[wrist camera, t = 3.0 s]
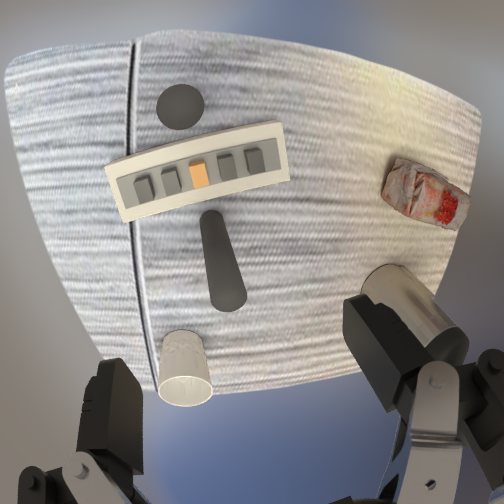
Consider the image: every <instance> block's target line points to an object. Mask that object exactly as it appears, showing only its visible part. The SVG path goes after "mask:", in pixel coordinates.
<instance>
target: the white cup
mask: <svg viewBox="0 0 504 504" xmlns="http://www.w3.org/2000/svg"><path fill="white" fill-rule="evenodd" d="M158 393H159V396H160V397H161V398H162V399H163V400H164V401H166V402H167V403H170V404H172V405H176V406H195V405H199V404H202V403H203V402H205V401H207V400H208V399H209V398H210V397H211V396H212V394H213V387H212V383H211V378H210V373H209V368H208V364H207V359H206V355H205V352H204V349H203V344H202V339H201V338H200V337H199V336H198V335H197V334H196V333H193V332H191V331H188V330H177V331H173V332H170V333H169V334H168V335H167V336H165V337H164V340H163V342H162V351H161V356H160V366H159V382H158Z"/></svg>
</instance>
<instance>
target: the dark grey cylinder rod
mask: <svg viewBox="0 0 504 504" xmlns="http://www.w3.org/2000/svg"><path fill="white" fill-rule="evenodd" d="M200 228H201V236H202V244H203V251H204V258H205V265H206V272H207V279H208V286H209V292H210V299H211V303H212V305H213V306H214V307H215V308H216V309H217V310H219V311H222V312H232V311H235V310H238V309H239V308H241V307H242V306H243V305H244V304H245V302H246V300H247V292H246V289H245V286H244V283H243V280H242V276H241V273H240V270H239V267H238V264H237V261H236V258H235V255H234V252H233V249H232V245H231V242H230V239H229V236H228V233H227V230H226V226H225V223H224V220H223V217H222V215H221V214H220V213H219V212H217V211H214V210H210V211H207V212H205V213H204V214H203V215H202V216H201V218H200Z"/></svg>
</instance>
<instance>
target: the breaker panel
mask: <svg viewBox="0 0 504 504" xmlns="http://www.w3.org/2000/svg"><path fill="white" fill-rule="evenodd" d="M104 168H105V171H106V174H107V177H108V180H109V183H110V186H111V190H112V192H113V195H114V198H115V201H116V204H117V207H118V210H119V213H120V215H121V218H122V221H123V223H126V222H129V221H133V220H136V219H139V218H143V217H146V216H150V215H153V214H157V213H160V212H164V211H167V210H171V209H174V208H178V207H182V206H185V205H189V204H193V203H197V202H201V201H204V200H208V199H212V198H216V197H220V196H224V195H228V194H232V193H236V192H241V191H245V190H249V189H253V188H258V187H262V186H266V185H271V184H275V183H280V182H285V181H289V180H290V175H289V168H288V161H287V154H286V147H285V141H284V134H283V128H282V122H280V121H276V120H271V121H265V122H260V123H254V124H249V125H244V126H239V127H234V128H229V129H225V130H220V131H216V132H211V133H207V134H203V135H199V136H195V137H191V138H187V139H183V140H179V141H176V142H172V143H168V144H165V145H161V146H158V147H155V148H151V149H148V150H145V151H141V152H138V153H135V154H132V155H129V156H126V157H123V158H120V159H117V160H114V161H111V162H110V163H108V164H107V165H106V166H105V167H104Z"/></svg>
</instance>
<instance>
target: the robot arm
mask: <svg viewBox="0 0 504 504" xmlns="http://www.w3.org/2000/svg"><path fill="white" fill-rule="evenodd" d="M434 299H435V296H434V294H433V293H432V292H431V291H430V290H429V289H428V288H427V287H426V286H425V285H424V284H423V283H422V282H421V281H419V280H418V279H417V278H416V277H415V276H414V275H413V274H412V273H411V272H410V271H409V270H408V269H407V268H406V267H405V266H401V267H399V266H397V265H393V264H389V265H385V266H382V267H380V268H378V269H377V270H375V271H374V272H373V273H372V274H371V275H370V276H369V277H368V279H367V280H366V281H365V283H364V285H363V288H362V291H361V294H360V295H357V296H354V297H351V298H348V299H345V300H344V303H343V336H344V339H345V342H346V344H347V346H348V348H349V349H350V351H351V353H352V354H353V356H354V358H355V359H356V361H357V363H358V364H359V366H360V368H361V369H362V371H363V373H364V374H365V376H366V378H367V380H368V381H369V383H370V385H371V386H372V388H373V389H374V391H375V393H376V395H377V397H378V398H379V400H380V402H381V403H382V405H383V407H384V409H385V410H386V412H387V413H388V412H390V411H392V410H394V409H397V410H398V412H399V413H400V417H399V422H398V426H397V431H396V436H395V440H394V445H393V448H392V453H391V457H390V460H389V464H388V467H387V469H386V471H385V473H384V476H383V479H382V481H381V484H380V488H379V491H378V494H377V497H376V499H355V500H352V498H351V496H349V497H346V498H344V499H341V500H338V501H335V502H333V503H330V504H453V502H454V497H455V492H456V487H457V482H458V476H459V470H460V463H461V456H462V446H464V447H467V448H471V449H472V450H473V452H474V454H475V456H476V458H477V460H478V462H479V464H480V466H481V468H482V470H483V472H484V474H485V476H486V478H487V480H488V482H489V484H490V486H491V488H492V490H493V492H492V494H491V496H490V498H489V502H488V504H504V352H502V351H500V350H497V349H489V350H486V351H484V352H483V353H482V354H481V355H480V357H479V359H478V361H477V362H474V363H470V364H466V365H462V364H463V362H464V359H465V357H466V354H467V352H468V348H469V340H468V337H467V336H466V335H465V333H464V332H463V331H462V330H461V329H460V328H459V327H458V326H457V325H456V324H455V323H454V322H453V320H452V319H451V318H450V317H449V316H448V315H447V314H446V313H445V312H444V311H443V310H442V309H441V308H440V307H439V306H438V305H437V304H436V303H435V302H434ZM83 401H84V403H83V405H82V413H81V418H80V425H79V432H78V441H77V448H76V452H75V453H72V454H71V455H70V456H68V457H67V458H66V460H65V462H64V464H63V467H60V468H57V469H54V470H51V471H47V472H44V471H42V470H41V469H39V468H37V467H35V466H29V467H27V468H25V469H24V470H23V471H22V473H21V475H20V477H19V485H18V504H152V503H151V502H150V501H149V500H148V499H147V498H146V497H145V495H144V494H143V493H142V492H141V491H140V490H139V489H138V487H137V486H136V485H135V484H134V483H133V475H143V474H144V472H143V437H142V436H143V431H142V430H143V393H142V389H141V386H140V384H139V382H138V381H137V379H136V378H135V376H134V375H133V374H132V372H131V371H130V370H129V368H128V367H127V365H126V364H125V362H124V361H123V360H122V359H121V358H114V359H108V360H103V361H100V363H99V366H98V371H97V376H93V377H92V378H91V379H90V381H89V383H88V385H87V387H86V389H85V394H84V400H83ZM427 488H428V490H426V489H427Z"/></svg>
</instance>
